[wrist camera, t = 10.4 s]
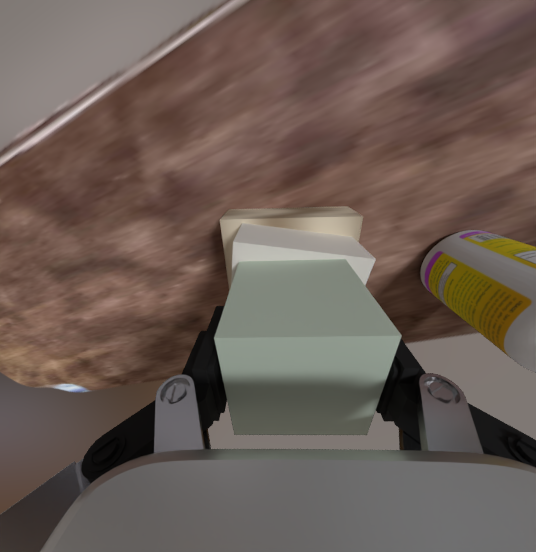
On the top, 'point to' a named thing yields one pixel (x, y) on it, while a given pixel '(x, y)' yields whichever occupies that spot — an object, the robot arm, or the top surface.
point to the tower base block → (289, 223)
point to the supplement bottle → (488, 288)
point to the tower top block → (298, 247)
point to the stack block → (303, 349)
